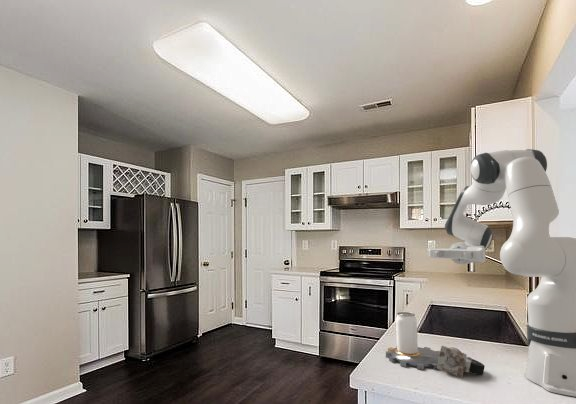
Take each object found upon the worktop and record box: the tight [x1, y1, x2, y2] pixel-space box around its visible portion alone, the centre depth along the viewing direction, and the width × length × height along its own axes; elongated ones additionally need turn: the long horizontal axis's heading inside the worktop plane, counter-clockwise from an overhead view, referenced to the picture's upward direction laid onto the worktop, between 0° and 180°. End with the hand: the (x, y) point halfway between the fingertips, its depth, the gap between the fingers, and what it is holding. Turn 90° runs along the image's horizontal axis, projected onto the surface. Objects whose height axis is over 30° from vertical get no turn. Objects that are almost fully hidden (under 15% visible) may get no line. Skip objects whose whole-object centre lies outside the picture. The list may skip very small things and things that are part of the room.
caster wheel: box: [436, 345, 485, 379], centre depth 101 cm, size 7×11×10 cm
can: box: [395, 311, 419, 354], centre depth 114 cm, size 6×6×12 cm
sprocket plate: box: [385, 346, 440, 371], centre depth 112 cm, size 19×19×1 cm
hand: (449, 254), depth 131 cm, fingers open, 8 cm apart
